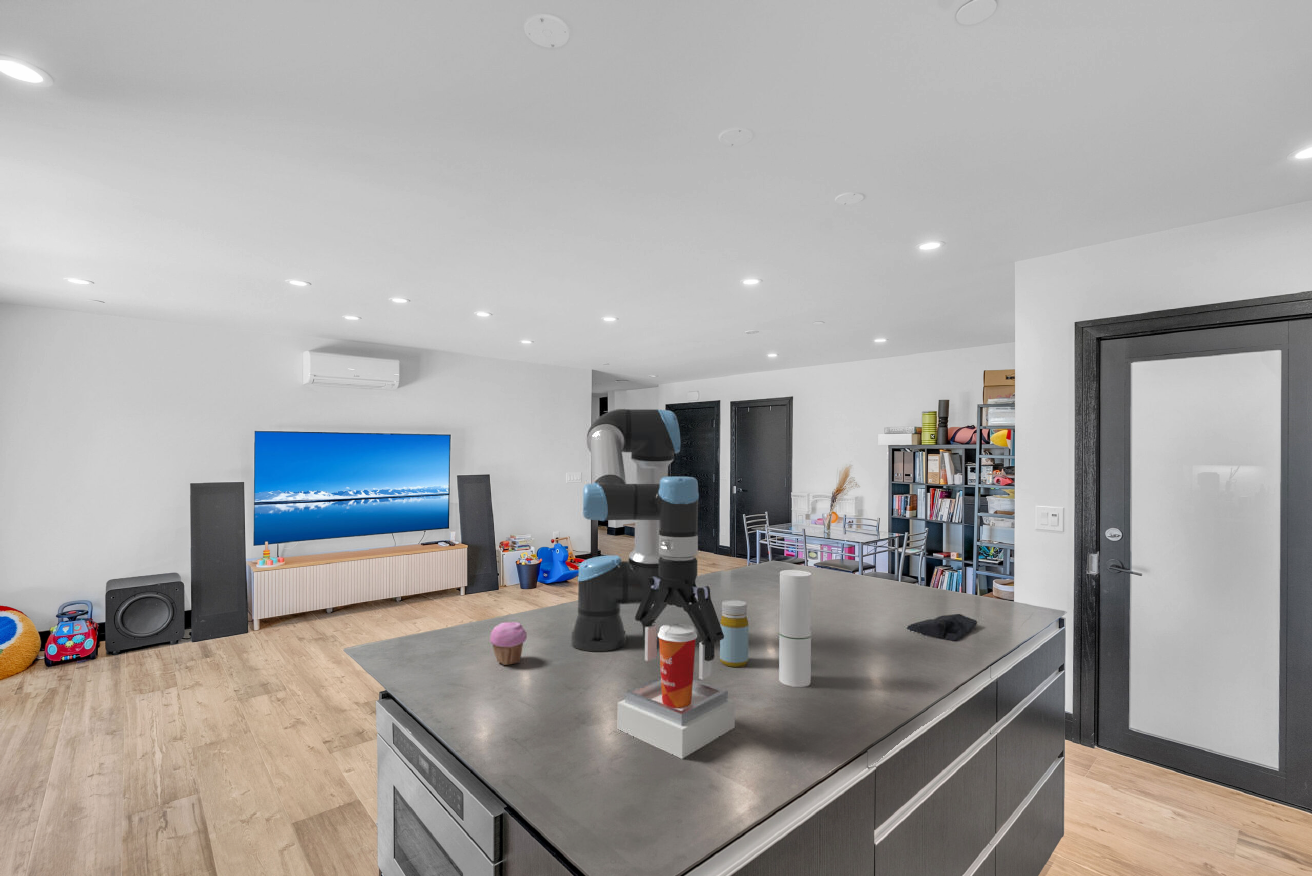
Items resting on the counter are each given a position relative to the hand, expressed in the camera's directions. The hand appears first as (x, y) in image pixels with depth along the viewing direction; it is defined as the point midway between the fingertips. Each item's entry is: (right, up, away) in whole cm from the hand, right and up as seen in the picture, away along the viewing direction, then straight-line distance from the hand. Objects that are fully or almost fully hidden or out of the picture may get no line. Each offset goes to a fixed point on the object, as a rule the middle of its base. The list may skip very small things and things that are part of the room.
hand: (676, 667), depth 114 cm
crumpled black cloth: (+84, -15, +66) cm, 107 cm away
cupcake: (-41, -12, +34) cm, 54 cm away
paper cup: (0, -7, 0) cm, 7 cm away
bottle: (+16, -13, +35) cm, 41 cm away
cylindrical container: (+28, -13, +24) cm, 39 cm away
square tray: (0, -12, 0) cm, 12 cm away
